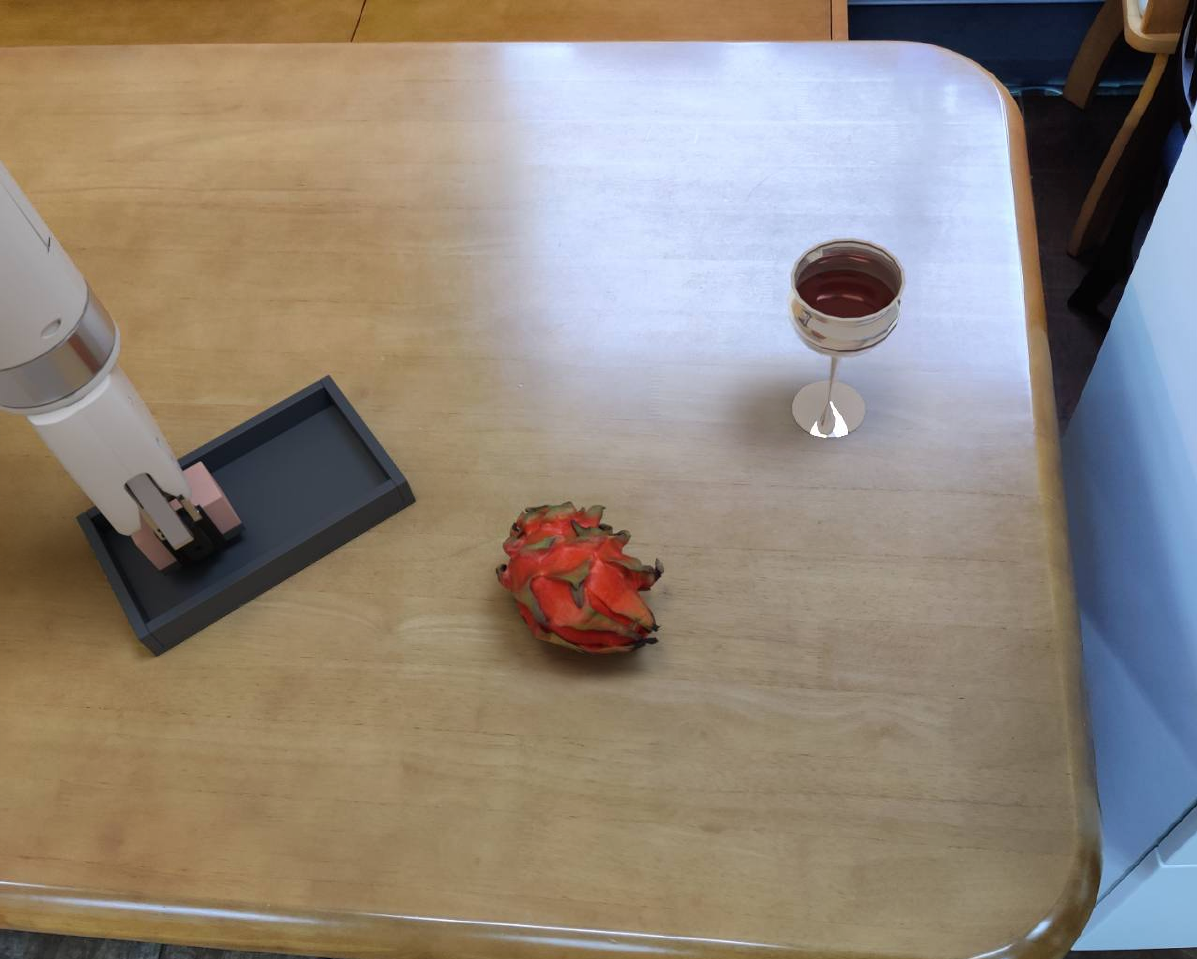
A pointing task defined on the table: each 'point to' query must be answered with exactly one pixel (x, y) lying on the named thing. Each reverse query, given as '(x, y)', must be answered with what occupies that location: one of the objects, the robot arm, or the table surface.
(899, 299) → the wineglass
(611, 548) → the dragon fruit
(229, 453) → the tray
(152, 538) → the eraser
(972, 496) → the table surface
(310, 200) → the table surface
